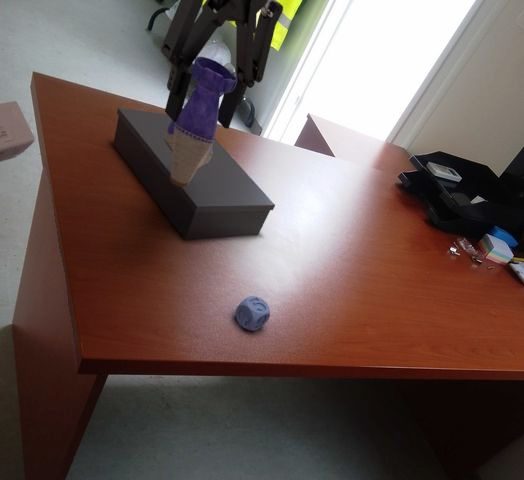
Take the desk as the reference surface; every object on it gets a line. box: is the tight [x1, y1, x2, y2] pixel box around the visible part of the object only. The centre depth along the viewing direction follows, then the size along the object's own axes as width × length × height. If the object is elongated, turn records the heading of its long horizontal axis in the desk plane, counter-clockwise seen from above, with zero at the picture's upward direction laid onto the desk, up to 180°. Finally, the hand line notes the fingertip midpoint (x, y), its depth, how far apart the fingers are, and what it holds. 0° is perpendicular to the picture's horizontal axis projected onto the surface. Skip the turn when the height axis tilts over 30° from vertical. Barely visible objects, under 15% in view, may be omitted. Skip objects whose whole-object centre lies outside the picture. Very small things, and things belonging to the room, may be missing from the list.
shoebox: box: [112, 107, 276, 241], centre depth 91 cm, size 31×19×7 cm, turn 39°
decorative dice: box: [235, 295, 271, 332], centre depth 73 cm, size 4×4×4 cm
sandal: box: [165, 56, 237, 187], centre depth 65 cm, size 8×20×15 cm, turn 175°
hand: (197, 120), depth 67 cm, fingers open, 8 cm apart
